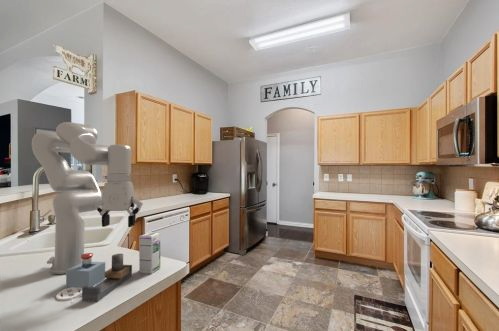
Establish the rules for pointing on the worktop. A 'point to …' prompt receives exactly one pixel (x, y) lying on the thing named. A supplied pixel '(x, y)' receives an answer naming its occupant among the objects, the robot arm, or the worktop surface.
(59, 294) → the pendant
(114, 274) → the carriage
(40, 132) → the robot arm
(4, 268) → the worktop surface
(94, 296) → the rail
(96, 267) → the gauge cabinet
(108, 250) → the worktop surface
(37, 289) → the worktop surface
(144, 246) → the syrup box
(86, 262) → the plunger
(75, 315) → the worktop surface
